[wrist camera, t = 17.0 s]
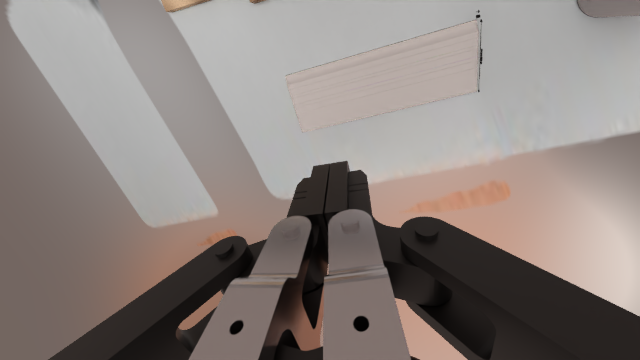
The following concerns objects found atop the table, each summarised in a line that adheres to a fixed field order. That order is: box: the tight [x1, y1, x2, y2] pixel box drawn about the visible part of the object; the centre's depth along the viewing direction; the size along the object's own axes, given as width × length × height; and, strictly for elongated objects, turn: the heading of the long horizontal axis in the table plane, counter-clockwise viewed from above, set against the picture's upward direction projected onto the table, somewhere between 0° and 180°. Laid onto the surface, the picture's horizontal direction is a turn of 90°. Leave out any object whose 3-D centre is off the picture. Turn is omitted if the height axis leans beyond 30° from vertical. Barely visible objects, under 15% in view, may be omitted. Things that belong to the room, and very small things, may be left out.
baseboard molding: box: [285, 11, 482, 133], centre depth 42 cm, size 31×3×12 cm
